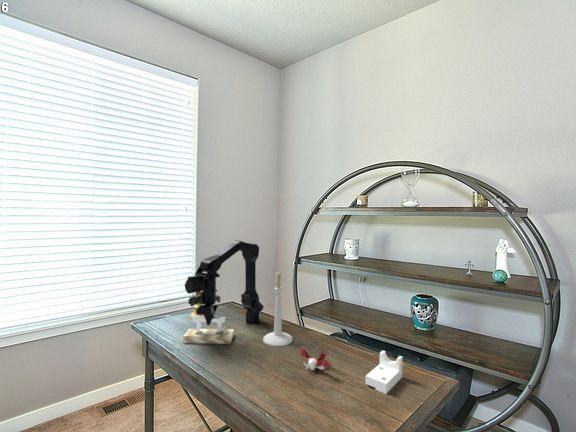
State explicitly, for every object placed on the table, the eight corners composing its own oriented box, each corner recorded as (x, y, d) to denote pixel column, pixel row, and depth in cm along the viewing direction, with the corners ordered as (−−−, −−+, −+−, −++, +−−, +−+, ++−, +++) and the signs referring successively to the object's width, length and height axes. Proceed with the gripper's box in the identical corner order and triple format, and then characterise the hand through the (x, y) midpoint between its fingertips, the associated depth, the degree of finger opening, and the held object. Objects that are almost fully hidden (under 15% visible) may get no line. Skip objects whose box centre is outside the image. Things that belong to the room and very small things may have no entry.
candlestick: (259, 344, 135) (259, 274, 134) (268, 332, 148) (268, 268, 147) (288, 348, 132) (289, 275, 131) (295, 335, 145) (295, 269, 144)
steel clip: (225, 330, 141) (225, 316, 141) (224, 332, 139) (224, 318, 139) (193, 330, 141) (193, 316, 141) (192, 332, 139) (192, 318, 139)
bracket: (382, 371, 115) (382, 350, 115) (402, 378, 111) (402, 356, 110) (365, 386, 105) (365, 363, 105) (386, 395, 101) (386, 371, 100)
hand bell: (209, 315, 171) (209, 285, 170) (197, 319, 164) (197, 288, 163) (198, 312, 175) (198, 283, 174) (186, 316, 168) (186, 286, 167)
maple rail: (233, 335, 144) (233, 329, 144) (230, 343, 136) (230, 336, 136) (189, 335, 144) (189, 328, 144) (183, 343, 136) (183, 336, 136)
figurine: (343, 371, 115) (343, 352, 114) (321, 383, 107) (322, 363, 106) (312, 356, 126) (313, 339, 125) (291, 366, 118) (291, 348, 117)
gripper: (196, 283, 149) (196, 316, 149) (183, 294, 130) (183, 332, 131) (220, 283, 149) (220, 316, 149) (211, 294, 130) (211, 332, 131)
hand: (209, 323), depth 140 cm, fingers closed on steel clip, 2 cm apart
